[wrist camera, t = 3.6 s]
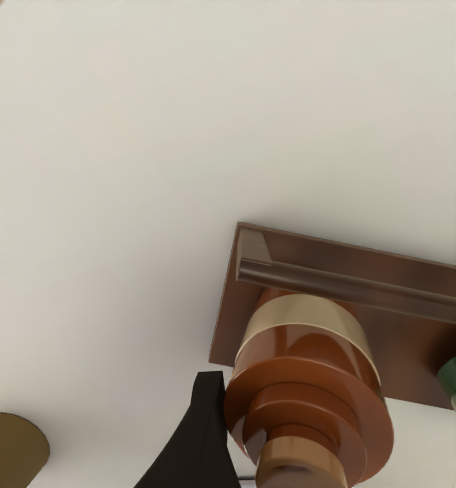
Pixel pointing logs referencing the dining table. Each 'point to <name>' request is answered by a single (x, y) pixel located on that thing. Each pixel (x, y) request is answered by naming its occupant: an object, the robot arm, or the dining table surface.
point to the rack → (350, 291)
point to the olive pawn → (20, 451)
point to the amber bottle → (307, 395)
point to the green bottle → (448, 380)
